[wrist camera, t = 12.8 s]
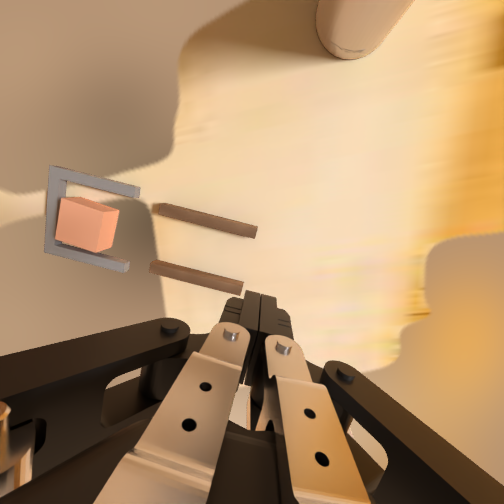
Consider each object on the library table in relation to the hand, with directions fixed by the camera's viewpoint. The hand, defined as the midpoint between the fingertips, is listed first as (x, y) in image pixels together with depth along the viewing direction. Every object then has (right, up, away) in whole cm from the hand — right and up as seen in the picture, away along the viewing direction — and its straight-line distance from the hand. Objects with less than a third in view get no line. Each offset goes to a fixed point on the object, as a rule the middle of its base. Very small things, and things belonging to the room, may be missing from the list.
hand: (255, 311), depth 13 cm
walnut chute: (-7, +3, +27) cm, 29 cm away
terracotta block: (-24, +7, +28) cm, 37 cm away
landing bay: (-23, +8, +27) cm, 37 cm away
